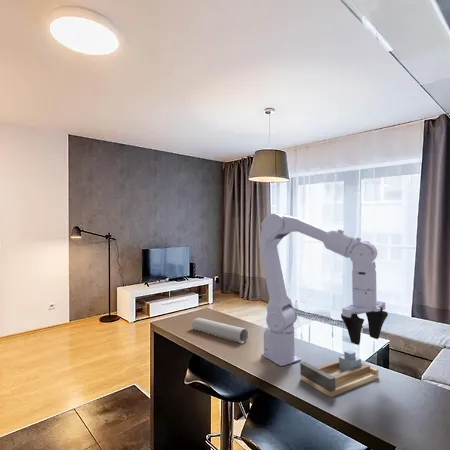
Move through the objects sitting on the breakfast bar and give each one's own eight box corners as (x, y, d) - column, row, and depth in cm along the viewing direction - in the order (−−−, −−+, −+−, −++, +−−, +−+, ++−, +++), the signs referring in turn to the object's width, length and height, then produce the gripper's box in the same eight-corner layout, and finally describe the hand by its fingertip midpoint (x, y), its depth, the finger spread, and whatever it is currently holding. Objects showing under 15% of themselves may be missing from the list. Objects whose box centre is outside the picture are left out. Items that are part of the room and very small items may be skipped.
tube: (187, 321, 119) (237, 334, 103) (196, 313, 123) (246, 325, 106) (190, 332, 120) (241, 347, 104) (199, 325, 124) (249, 338, 108)
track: (300, 379, 79) (300, 363, 80) (346, 363, 88) (346, 349, 88) (330, 397, 71) (330, 379, 71) (378, 378, 80) (378, 362, 80)
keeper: (339, 368, 82) (338, 351, 82) (349, 365, 84) (348, 348, 84) (351, 374, 79) (350, 356, 79) (361, 370, 81) (360, 352, 81)
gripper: (358, 294, 72) (359, 351, 72) (396, 288, 79) (396, 340, 79) (335, 289, 78) (336, 341, 78) (371, 283, 85) (372, 332, 85)
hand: (364, 340), depth 79 cm, fingers open, 7 cm apart
